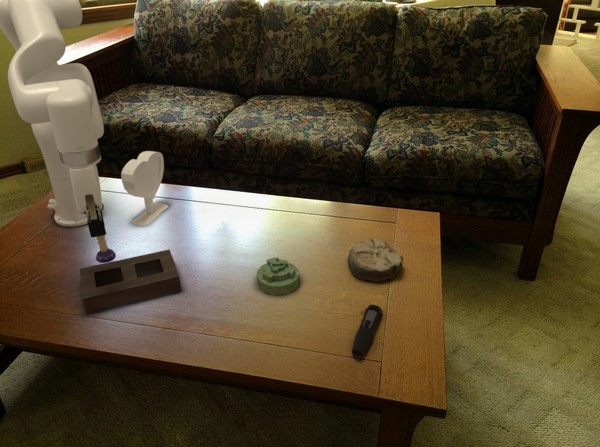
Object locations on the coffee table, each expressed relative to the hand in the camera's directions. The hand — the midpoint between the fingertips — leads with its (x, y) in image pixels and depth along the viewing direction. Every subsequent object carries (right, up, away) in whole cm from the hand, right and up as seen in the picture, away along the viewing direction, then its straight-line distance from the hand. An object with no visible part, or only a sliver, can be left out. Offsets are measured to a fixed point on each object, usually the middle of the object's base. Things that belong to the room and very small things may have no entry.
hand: (97, 231), depth 113 cm
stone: (+63, -10, +17) cm, 66 cm away
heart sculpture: (0, +4, +40) cm, 40 cm away
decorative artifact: (+39, -13, +12) cm, 42 cm away
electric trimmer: (+58, -22, -4) cm, 62 cm away
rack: (+4, -14, +10) cm, 17 cm away
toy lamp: (0, -6, +4) cm, 7 cm away
